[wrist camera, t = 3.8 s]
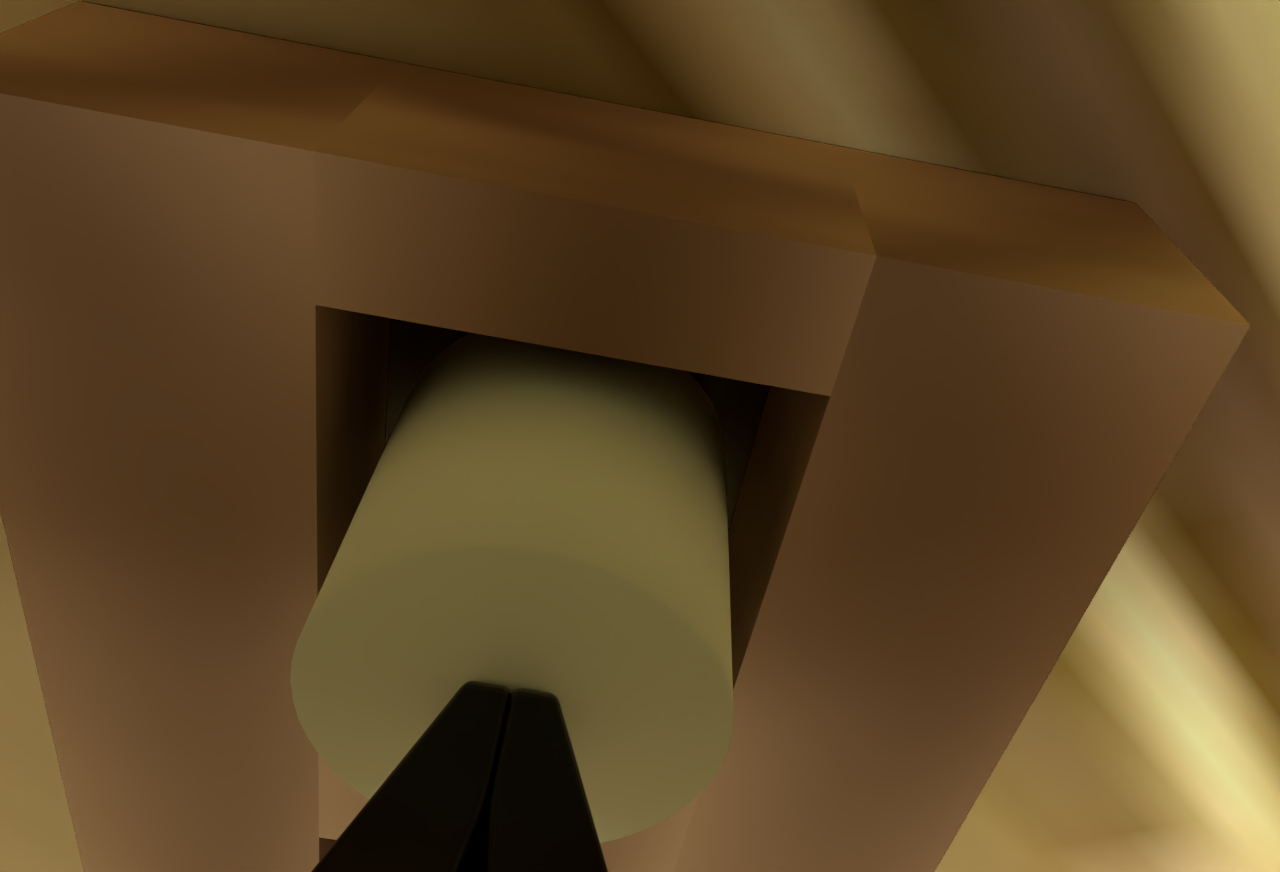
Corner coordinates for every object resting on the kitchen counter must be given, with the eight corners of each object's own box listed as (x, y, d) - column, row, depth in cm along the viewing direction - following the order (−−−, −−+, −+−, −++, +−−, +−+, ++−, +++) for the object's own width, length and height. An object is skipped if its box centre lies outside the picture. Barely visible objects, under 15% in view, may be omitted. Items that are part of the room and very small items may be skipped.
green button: (394, 555, 14) (294, 815, 10) (407, 285, 11) (284, 508, 8) (689, 603, 14) (685, 874, 10) (760, 348, 12) (782, 592, 8)
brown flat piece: (216, 1070, 25) (163, 1215, 23) (79, 1, 11) (-101, 75, 9) (696, 1135, 26) (695, 1284, 23) (1136, 202, 12) (1250, 324, 9)
